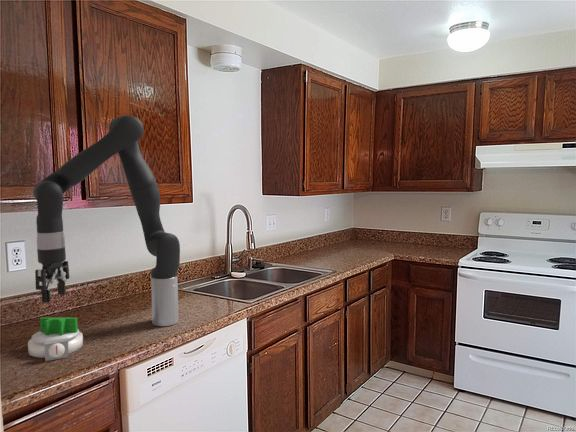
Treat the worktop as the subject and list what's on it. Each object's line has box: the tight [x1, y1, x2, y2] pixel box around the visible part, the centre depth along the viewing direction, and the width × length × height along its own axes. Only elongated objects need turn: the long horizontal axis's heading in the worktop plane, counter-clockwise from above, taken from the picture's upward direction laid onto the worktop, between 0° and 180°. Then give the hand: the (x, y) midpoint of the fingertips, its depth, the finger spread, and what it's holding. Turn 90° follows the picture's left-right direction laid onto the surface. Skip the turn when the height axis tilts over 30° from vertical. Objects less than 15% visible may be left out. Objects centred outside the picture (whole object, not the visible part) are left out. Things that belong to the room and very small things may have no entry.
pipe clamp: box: [39, 316, 79, 336], centre depth 133 cm, size 11×4×5 cm, turn 89°
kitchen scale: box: [27, 328, 84, 362], centre depth 132 cm, size 18×15×5 cm
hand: (54, 298), depth 132 cm, fingers open, 8 cm apart
